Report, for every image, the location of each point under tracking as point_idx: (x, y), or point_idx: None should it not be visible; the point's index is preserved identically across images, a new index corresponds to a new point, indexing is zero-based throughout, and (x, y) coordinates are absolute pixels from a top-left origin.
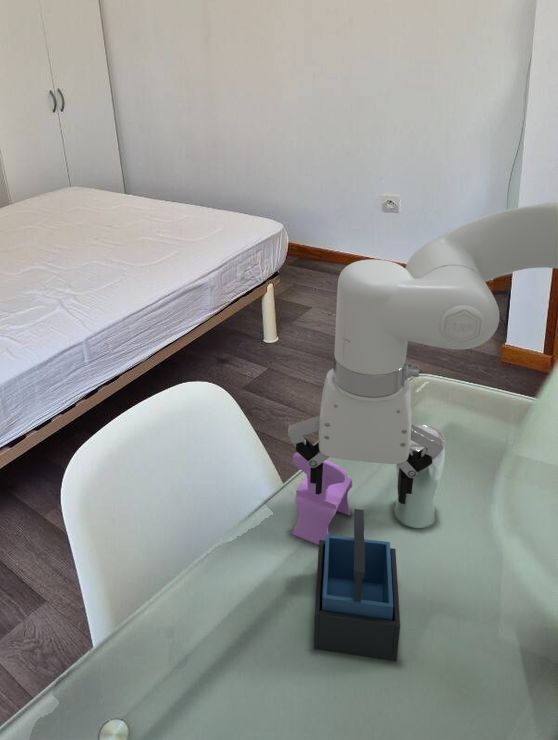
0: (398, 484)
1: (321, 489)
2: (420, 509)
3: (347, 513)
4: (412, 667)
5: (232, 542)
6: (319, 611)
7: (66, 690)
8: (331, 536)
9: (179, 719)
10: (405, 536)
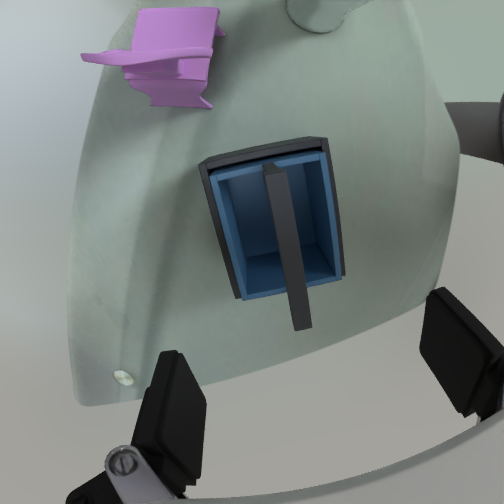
0: (438, 328)
1: (205, 416)
2: (335, 18)
3: (219, 35)
4: (343, 247)
5: (87, 160)
6: (240, 293)
7: (76, 361)
8: (220, 177)
9: (154, 361)
10: (312, 49)
